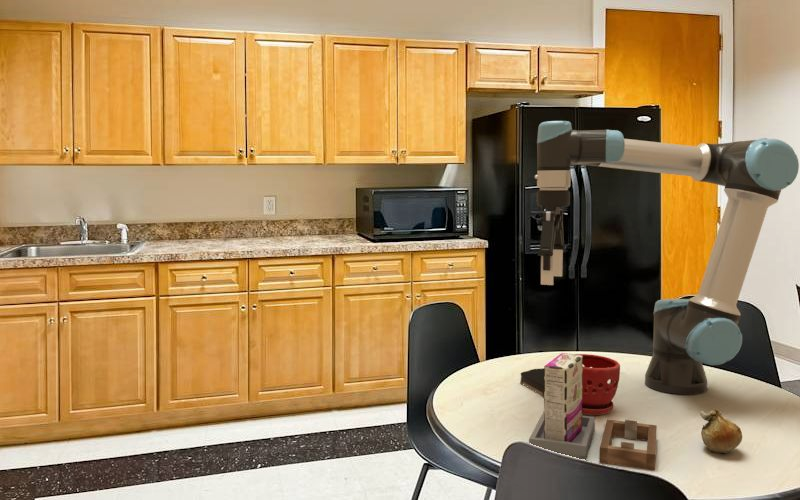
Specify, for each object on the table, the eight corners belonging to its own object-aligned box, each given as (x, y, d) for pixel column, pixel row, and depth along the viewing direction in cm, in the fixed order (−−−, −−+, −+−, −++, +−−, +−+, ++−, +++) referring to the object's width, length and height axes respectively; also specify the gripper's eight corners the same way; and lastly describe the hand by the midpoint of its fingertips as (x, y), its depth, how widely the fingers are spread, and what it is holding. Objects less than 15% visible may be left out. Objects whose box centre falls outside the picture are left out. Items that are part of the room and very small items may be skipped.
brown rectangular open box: (656, 439, 141) (656, 420, 140) (654, 470, 126) (655, 449, 126) (606, 432, 145) (606, 414, 144) (599, 462, 130) (599, 442, 129)
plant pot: (588, 423, 151) (589, 370, 149) (549, 405, 162) (550, 357, 161) (631, 413, 157) (632, 362, 155) (590, 397, 168) (591, 350, 167)
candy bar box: (559, 425, 146) (561, 352, 144) (582, 430, 143) (584, 355, 142) (542, 443, 137) (543, 364, 135) (566, 448, 134) (567, 368, 132)
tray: (594, 430, 146) (594, 417, 146) (585, 461, 130) (585, 446, 130) (543, 424, 150) (543, 411, 150) (528, 453, 134) (529, 438, 134)
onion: (700, 456, 132) (702, 416, 131) (698, 441, 140) (699, 404, 139) (743, 461, 130) (745, 421, 129) (738, 446, 137) (740, 408, 136)
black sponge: (578, 398, 168) (578, 383, 168) (548, 402, 166) (548, 387, 165) (544, 380, 184) (544, 367, 183) (516, 383, 181) (516, 370, 181)
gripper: (546, 188, 168) (544, 272, 170) (526, 190, 145) (525, 287, 147) (577, 188, 165) (575, 273, 168) (561, 190, 142) (560, 289, 145)
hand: (551, 280), depth 158 cm, fingers open, 13 cm apart
